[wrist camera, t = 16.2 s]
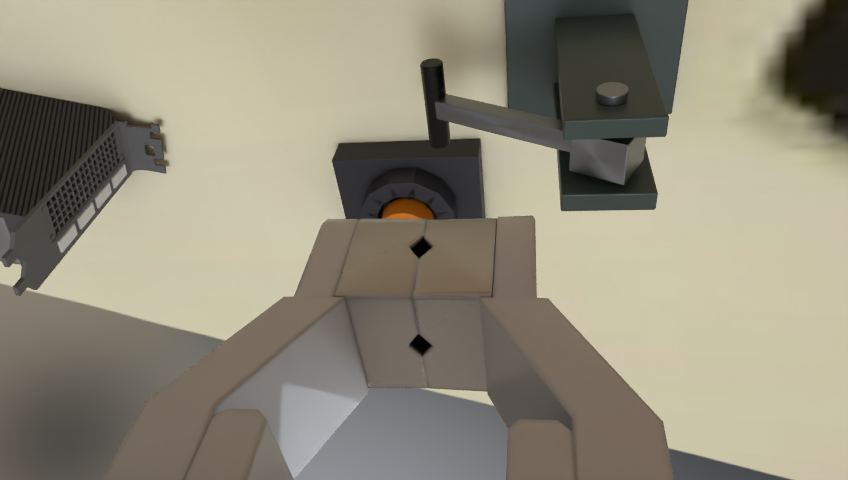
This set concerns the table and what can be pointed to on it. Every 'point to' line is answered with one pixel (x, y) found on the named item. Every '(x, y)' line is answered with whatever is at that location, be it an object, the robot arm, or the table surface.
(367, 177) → the control block
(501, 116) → the switch lever
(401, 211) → the button
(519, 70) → the bracket
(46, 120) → the graphics card
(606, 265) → the table surface
